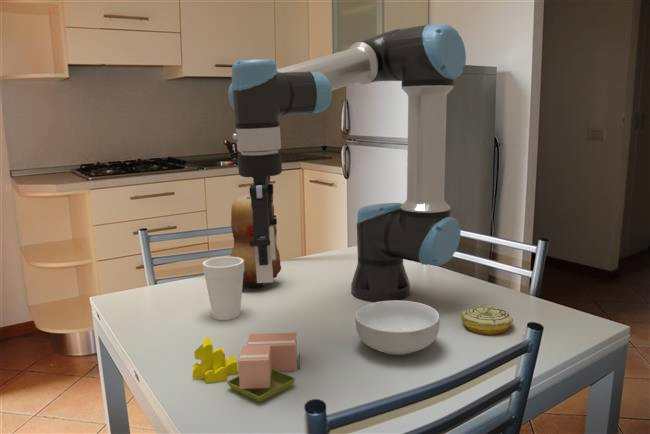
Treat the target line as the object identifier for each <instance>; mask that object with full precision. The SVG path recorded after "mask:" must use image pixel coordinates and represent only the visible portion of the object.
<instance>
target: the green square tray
mask: <svg viewBox="0 0 650 434" xmlns="http://www.w3.org/2000/svg"><path fill="white" fill-rule="evenodd" d="M295 380H296V377H294V376H292V375H289V374H287V373H284V372H283V371H278V370H275V369H273V368H271V380H270V388H253V389H240V384H239V375H238V376H236V377H233V378H231V379H229V380H227V381H226V383H227V385H228V386H229V387H230V388H232V389H233V390H234V391H236V392H237V393H239V394H242V395H244V396H246V397H248V398H250V399H252V400H255V401H256V402H259V403H261V402H264V401H266V400H267V399H269V398H271V397H273V396H275V395H277V394H278V393H281V392H282V391H285V390H286V389H288V388H290V386H291V385H293V383H294V382H295Z"/></svg>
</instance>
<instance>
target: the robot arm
mask: <svg viewBox="0 0 650 434" xmlns="http://www.w3.org/2000/svg"><path fill="white" fill-rule="evenodd" d="M464 43H465V42H464V40H463V38H462V37H461V35H460V34H459V31H458V30H457V29H456V28H455V27H453V26H452V25H450V24H447V23H437V24H436V23H435V24H434V23H431V24H430V23H429V24H425V25H419V26H412V27H408V28H407V27H406V28H400V29H398V28H397V29H392V30H388V31H386V32H383V33H380V34H377V35H375V36H372V37H369V38H366V39H364V40H361V41H356V42H354V43H352V44H351V45H350V47H349V48H348V49H346V50H342V51H338V52H335V53H331V54H327V55H323V56H319V57H316V58H312V59H309V60H306V61H302V62H301V61H300V62H298V63H295V64H290V65H287V66H283V67H279V68H277V65H276V62H275V61H274V60H273V59H259V58H258V59H241V60H238V61H235V62H234V63H233V64H232V67H231V83H230V85H229V87H228V89H227V90H228V91H227V97H228V98H227V99H228V102H229V104H230V107H232V109H233V111H234V123H235V132H236V133H233V135H232V139H233V140H237V141H236V148H237V151H238V152H239V154H238V156H237V169H238V175H239V176H240V177H243V178H252V180H253V181H252V182H253V184H251V185H250V187H249V194H250V197H251V207H252V210H253V236H254V240H253V241H250V247H253V246H255V261H256V275H257V283H266V284H267V283H274V279H273V268H272V260H276V255H275V243H276V240H275V239H276V238H275V239H274V226H270V225H275V226H276V225H278V220H277V218H275V214H274V215H273V211H272V203H274V184H273V183H271V177H274V176H279V175H281V174H282V173H283V165H282V164H283V162H282V154H281V153H280V152H279V150H280V149H282V141H281V126H280V117H281V116H292V115H293V116H294V115H295V116H296V115H314V114H316V113H317V114H318V113H322V112H324V111H326V110H327V108H329V106H330V104H331V102H332V98H333V91H336V90H338V89H342V88H345V87H347V86H350V85H354V84H356V83H357V84H360V85H369V84H371V83H375V82H401V89H402V90H403V92H405V94H406V95H407V156H406V157H407V161H406V162H407V167H406V168H407V169H406V171H407V174H406V175H407V176H406V178H407V179H406V180H407V181H406V200H405V201H404V202H402V203H401V202H388V203H386V202H385V203H377V204H371V205H370V204H369V205H365V206H362V207H360V208H359V210H357V221H356V240H357V241H356V242H357V243H356V244H357V245H356V246H357V264H356V269H355V271H354V274H353V277H352V280H351V284H350V285H351V286H350V289H351V292H350V293H351V294H352V296H354V297H355V298H358V299H360V300H364V301H369V302H381V301H392V300H403V299H405V298H407V297H408V296H409V295H410V293H411V285H410V281H409V278H408V277H409V276H408V275H407V271H406V267H405V266H404V265H405V264H404V261H410V262H413V263H414V262H415V263H419V264H421V265H425V266H436V267H437V266H442V265H445V264H447V263H448V262H449V261H450V260H451V259H452V257H453V256H454V254H455V253H457V252H456V251H457V250H458V247H459V244H460V241H461V231H462V230H461V225H460V224H459V221H458V220H457V219H456V218H454V217H452V216H451V211H452V208H451V206H450V205H449V204H448V203H447V202H446V200H445V185H446V183H445V181H446V180H445V178H446V176H445V174H446V173H445V171H446V142H447V141H446V139H447V134H446V133H447V99H448V97H447V96H448V94H449V93H450V92H451V91H452V90H453V89H454V86H455V79H457V78H458V77H460V76H461V75H462V73H463V72H464V69H465V67H466V60H467V54H466V53H467V52H466V48H465V44H464ZM273 218H274V219H273ZM259 237H260V238H259Z"/></svg>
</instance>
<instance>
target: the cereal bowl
mask: <svg viewBox="0 0 650 434" xmlns="http://www.w3.org/2000/svg"><path fill="white" fill-rule="evenodd" d="M354 316H355V317H354V319H355V320H354V322H355V328H356V332H357V333H356V334H357V335H358V337H359V338H360V340H361V341H362V342H363V343H364V344H365V345H366V346H368V347H370V348H372V349H374V350H376V351H379V352H382V353H384V354H387V355H391V356H406V355H410V354H413V353H415V352H417V351H421V350H423V349H426V348H427V347H428V346H430V345H431V344H432V343H433V342H434V340H435V339H436V337H438V335H439V331H440V324H441V323H440V314H439V312H438V311H437V310H436V309H435V308H433V306H429V305H427V304H424V303H421V302H418V301H417V302H416V301H410V300H401V299H399V300H392V301H374V302H372V303H368V304H366V305H364V306H362V307H359V309H357V311H356V312H355V315H354Z"/></svg>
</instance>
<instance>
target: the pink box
mask: <svg viewBox="0 0 650 434" xmlns="http://www.w3.org/2000/svg"><path fill="white" fill-rule="evenodd" d="M237 366H238V376H239V384H240V389H253V388H270V380H271V348H270V345H262V346H247V345H242V346H241V349H240V353H239V356H238V360H237Z"/></svg>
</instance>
